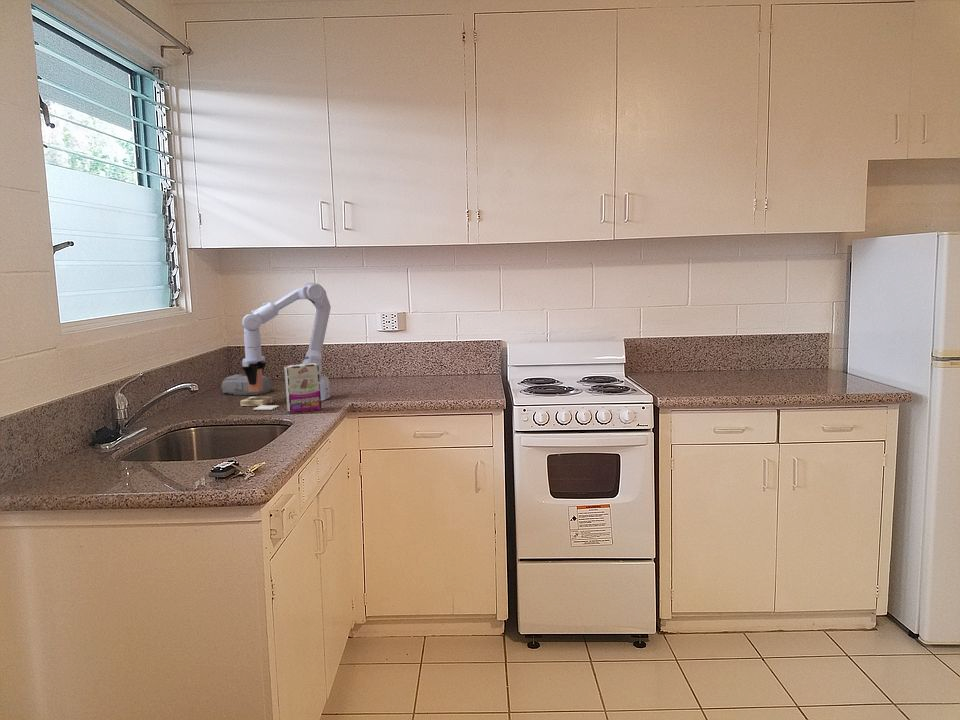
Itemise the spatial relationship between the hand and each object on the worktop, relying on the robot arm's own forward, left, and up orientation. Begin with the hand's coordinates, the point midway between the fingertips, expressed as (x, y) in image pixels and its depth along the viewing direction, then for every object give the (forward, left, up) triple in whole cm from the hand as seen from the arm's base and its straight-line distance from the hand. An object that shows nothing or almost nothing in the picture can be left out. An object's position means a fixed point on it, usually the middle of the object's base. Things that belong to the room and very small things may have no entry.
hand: (255, 383), depth 266 cm
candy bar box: (-23, +11, -8) cm, 27 cm away
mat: (-7, +8, -8) cm, 13 cm away
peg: (0, 0, -3) cm, 3 cm away
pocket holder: (0, 0, -8) cm, 8 cm away
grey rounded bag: (+17, -25, -8) cm, 31 cm away
